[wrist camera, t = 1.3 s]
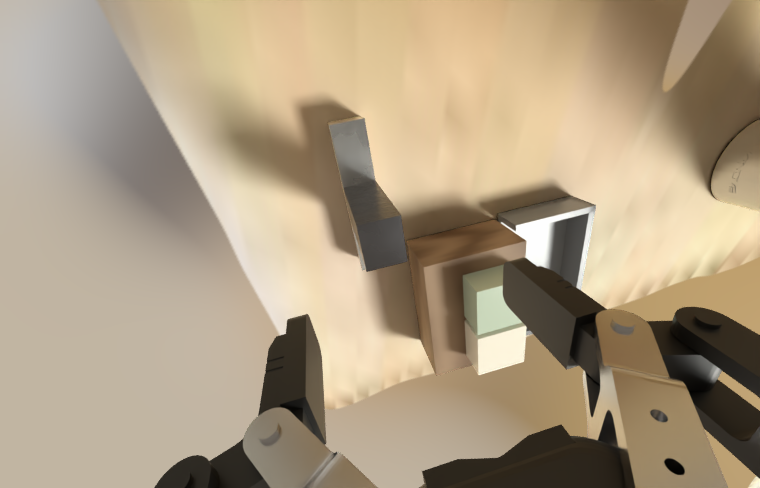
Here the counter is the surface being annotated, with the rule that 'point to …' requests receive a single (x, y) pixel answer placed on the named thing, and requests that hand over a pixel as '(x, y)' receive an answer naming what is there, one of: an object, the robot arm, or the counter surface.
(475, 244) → the walnut riser
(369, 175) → the grey l-shaped bracket
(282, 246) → the counter surface
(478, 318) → the sage tile
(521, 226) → the grey tray
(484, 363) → the cream tile
